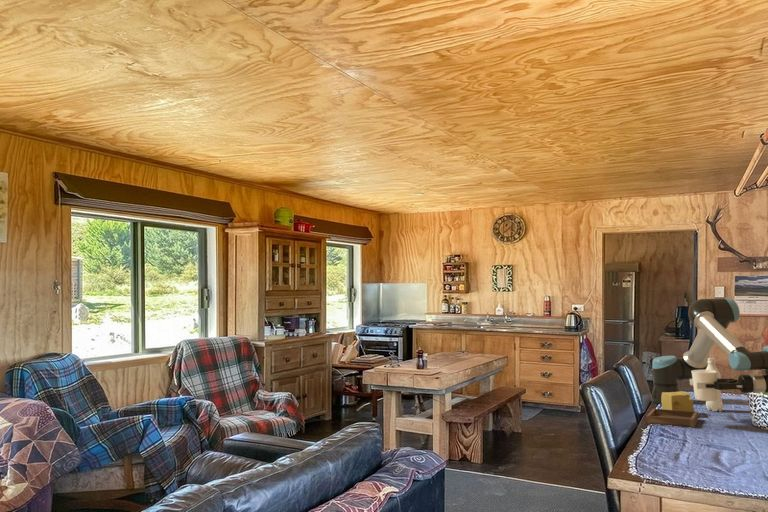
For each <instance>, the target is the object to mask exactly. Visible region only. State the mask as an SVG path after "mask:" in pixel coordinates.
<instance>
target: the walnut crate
mask: <svg viewBox="0 0 768 512" xmlns="http://www.w3.org/2000/svg"><path fill="white" fill-rule="evenodd" d="M645 416H646V417H645V418H646V425H651V424H660V425H659V426H663V425H672V426H671V427H675V426H681V427H680V428H687V427H691V428H690V429H695V427H696V425H697V423H698V421H699V412H698V411H695V412H693V411H679V410H665V409H662V408H652V409H651V410H650V411H649V412H648V413H647V415H645Z"/></svg>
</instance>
